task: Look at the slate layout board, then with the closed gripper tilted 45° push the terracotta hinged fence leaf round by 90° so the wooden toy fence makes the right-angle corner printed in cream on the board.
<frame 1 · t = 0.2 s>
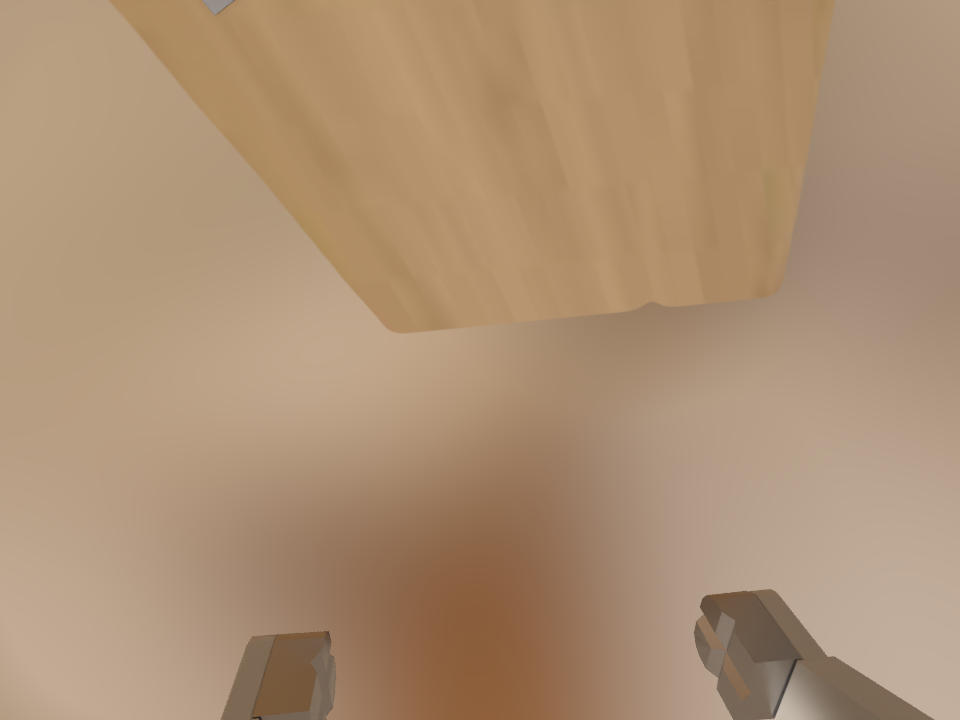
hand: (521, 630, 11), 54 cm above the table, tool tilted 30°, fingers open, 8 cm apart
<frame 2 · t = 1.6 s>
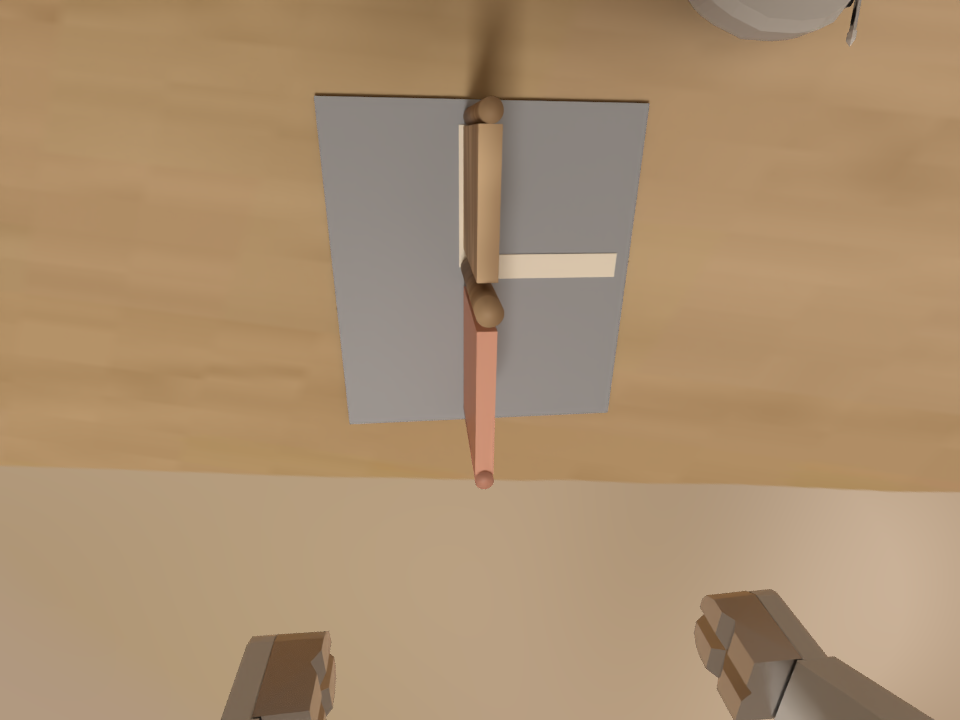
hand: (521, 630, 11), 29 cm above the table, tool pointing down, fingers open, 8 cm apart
fence leaf: (477, 380, 35), point 5 cm above the table, hinge at 0.0°
layout board: (484, 278, 38), on the table
fence fixed: (470, 265, 37), resting on layout board
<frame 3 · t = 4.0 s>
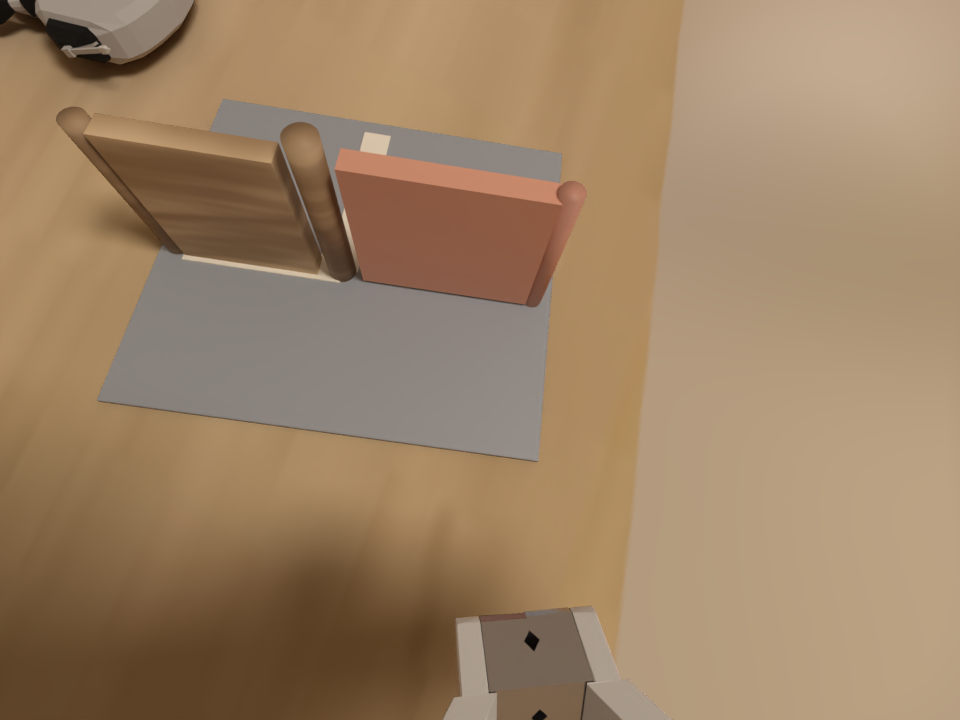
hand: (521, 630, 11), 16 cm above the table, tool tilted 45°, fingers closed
fence leaf: (457, 240, 26), point 5 cm above the table, hinge at 0.0°
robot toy: (103, 23, 37), on the table
layout board: (363, 261, 31), on the table
fence fixed: (343, 273, 31), resting on layout board
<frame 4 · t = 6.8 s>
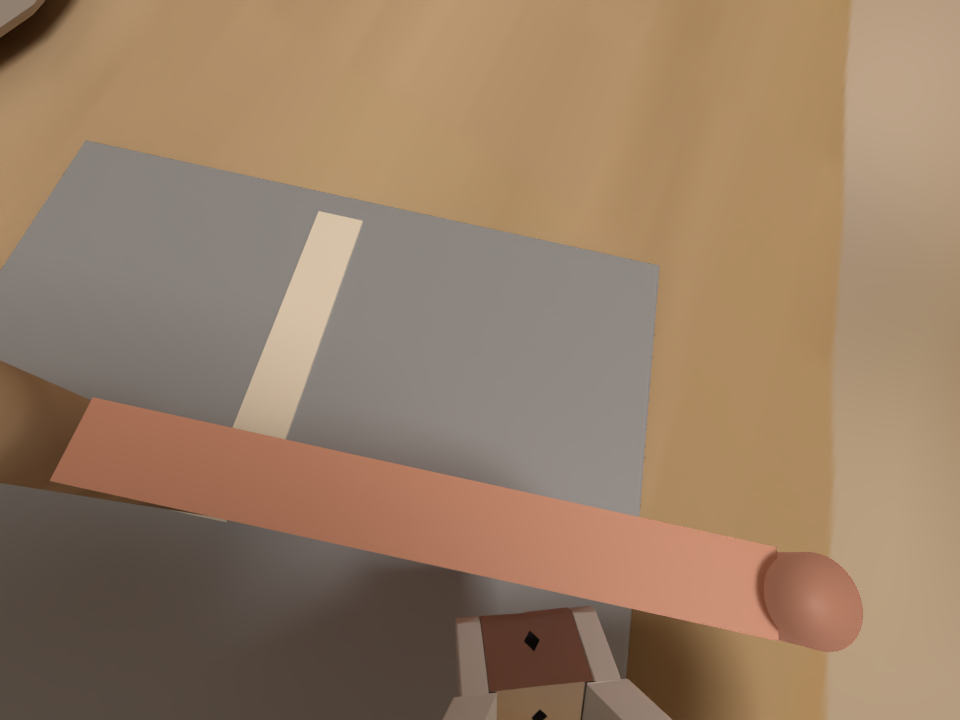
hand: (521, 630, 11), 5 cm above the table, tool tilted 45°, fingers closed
fence leaf: (451, 534, 11), point 5 cm above the table, hinge at 0.0°, touching gripper
layout board: (281, 470, 17), on the table
fence fixed: (240, 494, 16), resting on layout board
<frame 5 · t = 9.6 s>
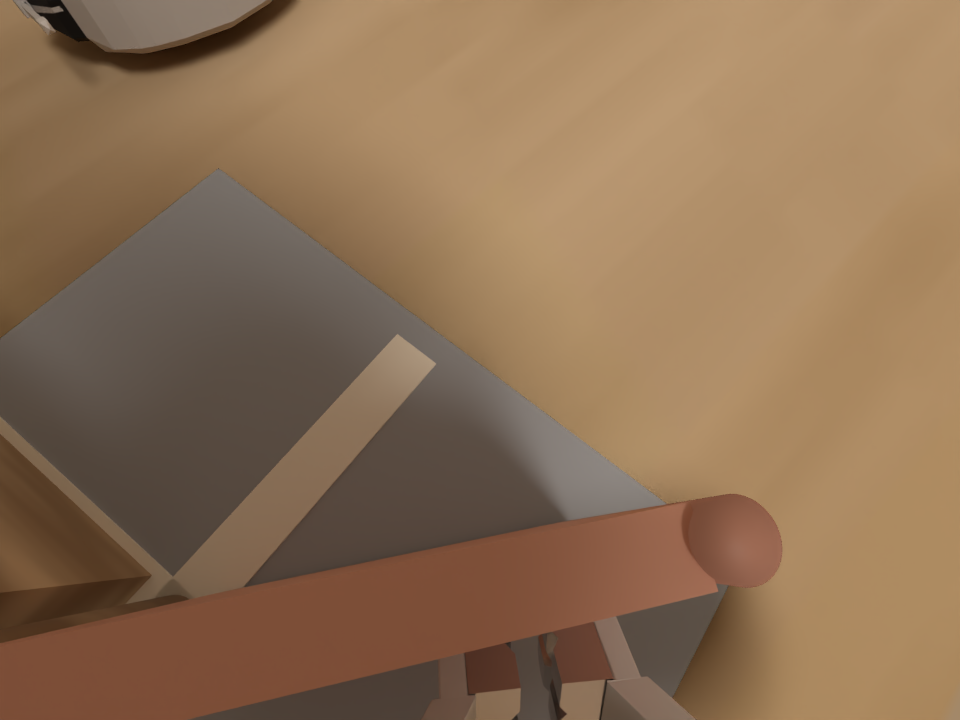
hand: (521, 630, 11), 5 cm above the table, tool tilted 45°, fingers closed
fence leaf: (400, 587, 11), point 5 cm above the table, hinge at 48.3°, touching gripper
layout board: (226, 615, 15), on the table
fence fixed: (175, 623, 15), resting on layout board
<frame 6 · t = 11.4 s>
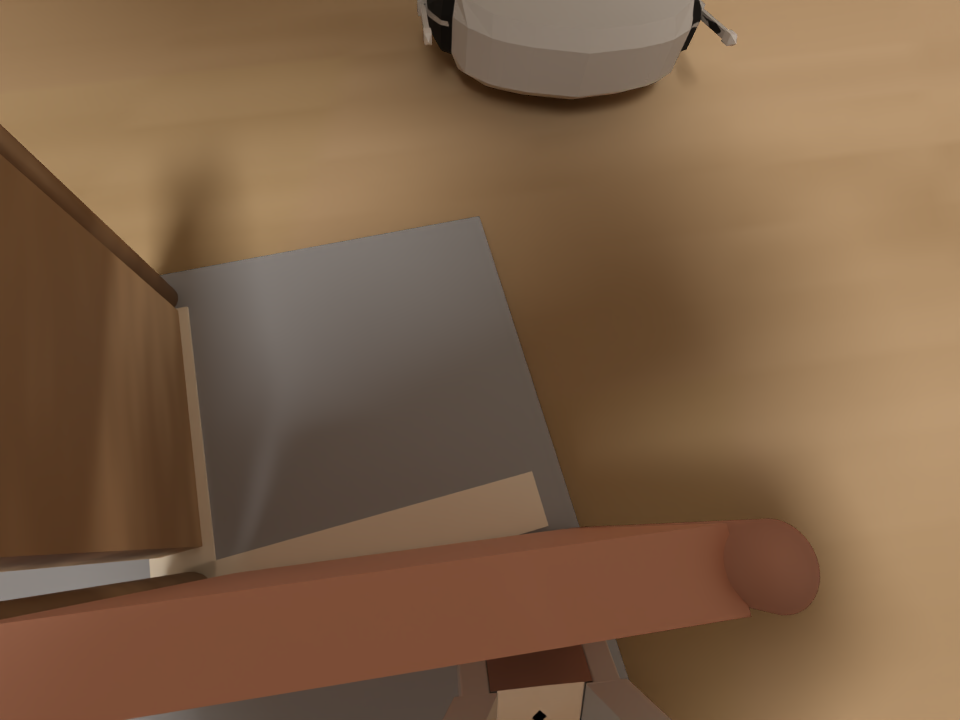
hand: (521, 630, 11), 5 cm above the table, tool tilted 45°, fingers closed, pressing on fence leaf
fence leaf: (419, 583, 11), point 5 cm above the table, hinge at 81.5°, touching gripper
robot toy: (538, 19, 25), on the table
layout board: (231, 625, 15), on the table
fence fixed: (192, 599, 15), resting on layout board
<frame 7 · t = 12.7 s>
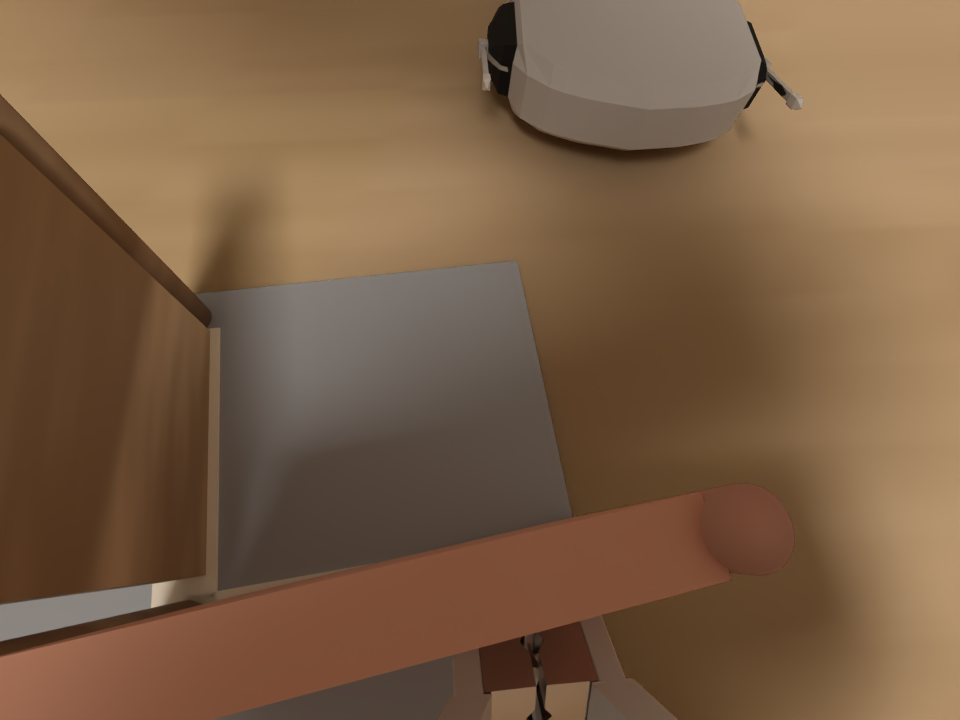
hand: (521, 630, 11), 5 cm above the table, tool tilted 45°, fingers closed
fence leaf: (413, 586, 11), point 5 cm above the table, hinge at 93.1°, touching gripper
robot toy: (596, 65, 25), on the table
layout board: (224, 660, 15), on the table
fence fixed: (189, 628, 15), resting on layout board
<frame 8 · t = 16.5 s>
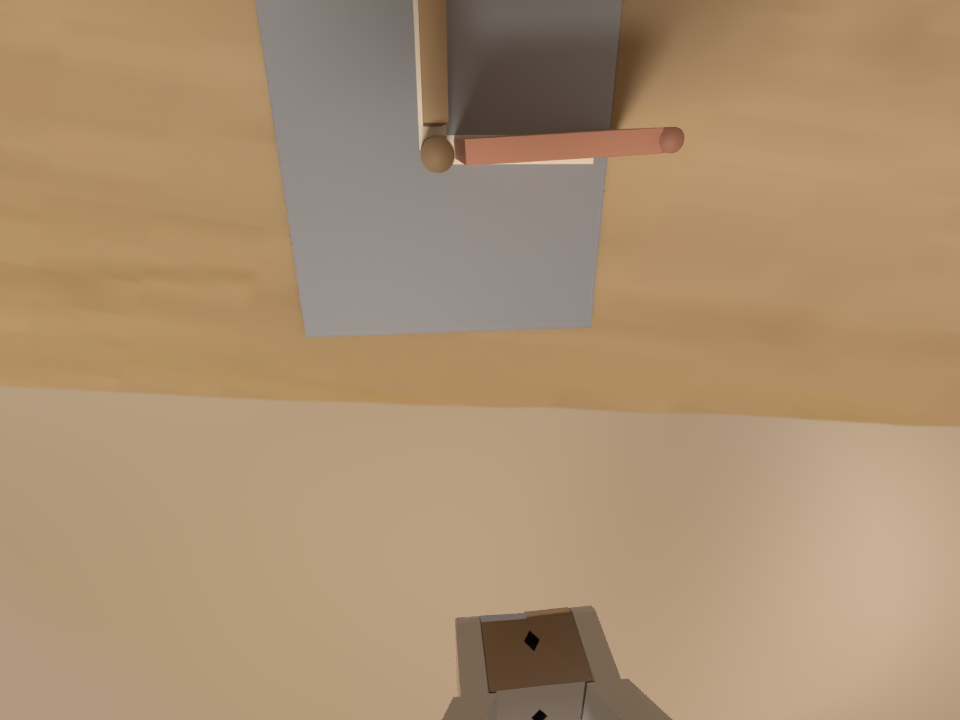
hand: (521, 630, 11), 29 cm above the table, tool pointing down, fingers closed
fence leaf: (552, 144, 29), point 5 cm above the table, hinge at 93.2°
layout board: (448, 165, 34), on the table
fence fixed: (433, 149, 33), resting on layout board
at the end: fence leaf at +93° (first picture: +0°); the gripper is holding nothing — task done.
